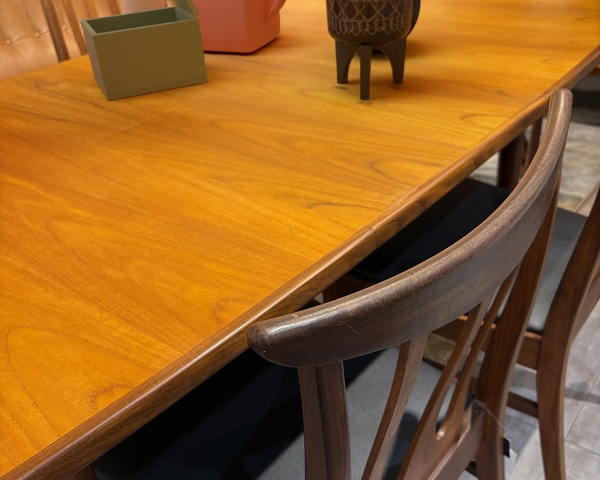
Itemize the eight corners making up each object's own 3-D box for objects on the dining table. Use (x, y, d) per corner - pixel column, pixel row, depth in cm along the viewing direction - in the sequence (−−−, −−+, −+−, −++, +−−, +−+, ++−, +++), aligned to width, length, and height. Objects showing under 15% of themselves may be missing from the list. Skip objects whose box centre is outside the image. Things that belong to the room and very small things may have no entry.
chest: (108, 100, 97) (92, 35, 91) (95, 80, 107) (79, 20, 101) (207, 81, 102) (198, 18, 96) (187, 64, 112) (177, 5, 106)
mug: (133, 43, 126) (119, -22, 119) (174, 39, 127) (163, -26, 120) (128, 58, 117) (113, -11, 110) (173, 54, 118) (161, -15, 110)
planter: (309, 92, 95) (303, -37, 84) (359, 70, 102) (359, -51, 92) (378, 107, 88) (381, -32, 77) (426, 82, 95) (435, -47, 85)
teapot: (274, 57, 111) (268, -28, 103) (171, 52, 119) (157, -28, 110) (313, 31, 126) (310, -46, 118) (219, 27, 133) (210, -45, 125)
